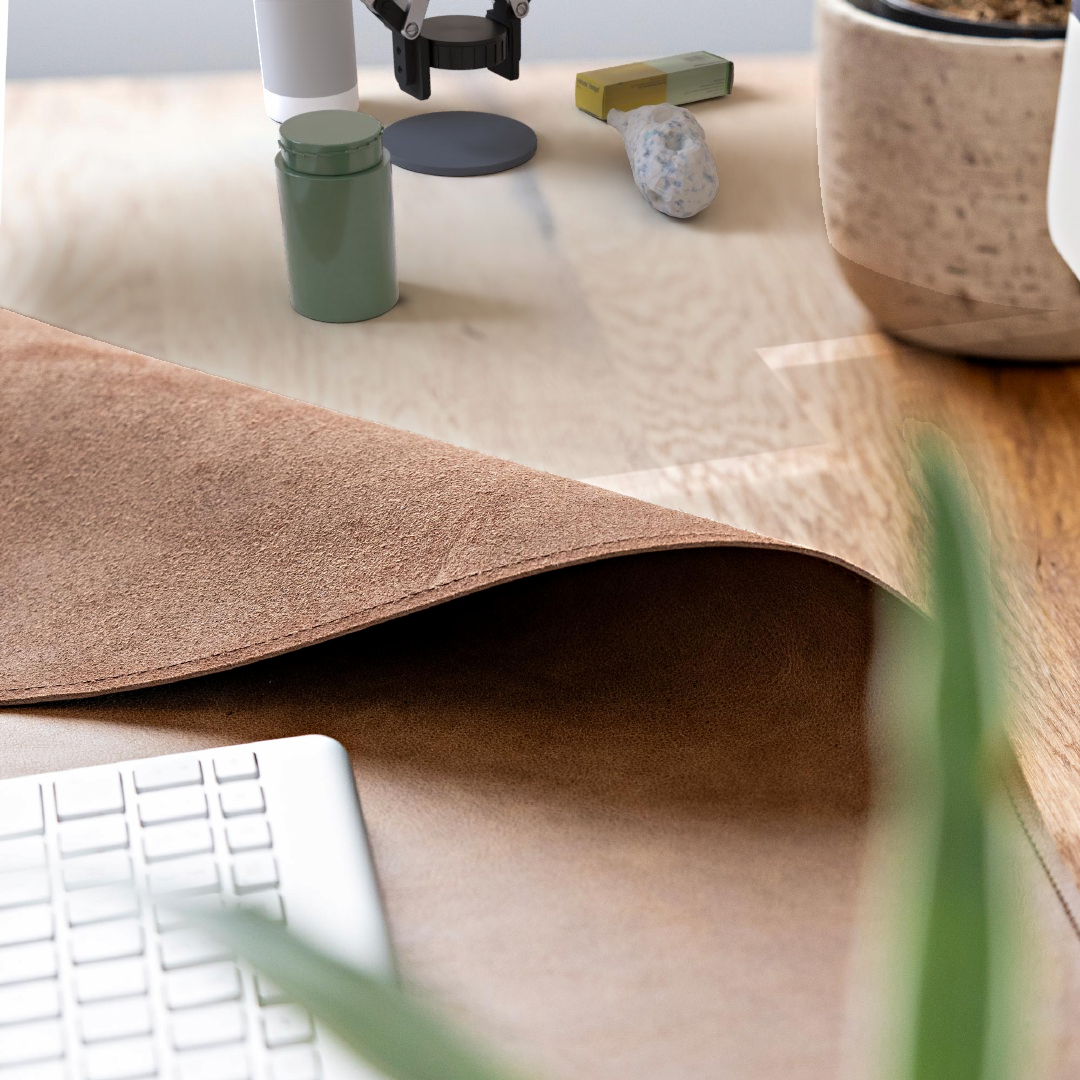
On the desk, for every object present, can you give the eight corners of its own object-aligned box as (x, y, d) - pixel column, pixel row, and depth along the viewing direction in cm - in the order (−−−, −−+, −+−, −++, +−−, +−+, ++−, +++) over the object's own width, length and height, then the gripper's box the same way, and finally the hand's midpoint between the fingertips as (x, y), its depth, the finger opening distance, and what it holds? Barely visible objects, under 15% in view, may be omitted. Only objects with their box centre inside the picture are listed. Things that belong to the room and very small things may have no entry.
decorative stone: (750, 223, 80) (760, 143, 77) (646, 230, 79) (651, 150, 76) (688, 146, 90) (695, 73, 87) (596, 152, 89) (599, 78, 86)
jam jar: (296, 328, 68) (277, 152, 63) (284, 279, 73) (265, 111, 67) (408, 316, 70) (398, 142, 64) (389, 268, 74) (378, 102, 68)
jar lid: (494, 39, 89) (494, 12, 88) (517, 67, 84) (518, 39, 83) (402, 44, 88) (401, 17, 87) (420, 73, 83) (419, 44, 82)
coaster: (394, 182, 84) (393, 173, 84) (367, 125, 93) (367, 116, 92) (555, 168, 87) (555, 159, 86) (515, 113, 95) (515, 105, 95)
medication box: (732, 97, 99) (701, 82, 101) (736, 61, 97) (704, 47, 100) (601, 123, 94) (572, 106, 96) (603, 85, 92) (573, 70, 95)
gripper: (533, -237, 83) (532, 48, 94) (289, -217, 75) (319, 93, 86) (604, -223, 78) (594, 76, 89) (351, -199, 70) (374, 126, 81)
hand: (459, 82), depth 87 cm, fingers closed on jar lid, 6 cm apart
